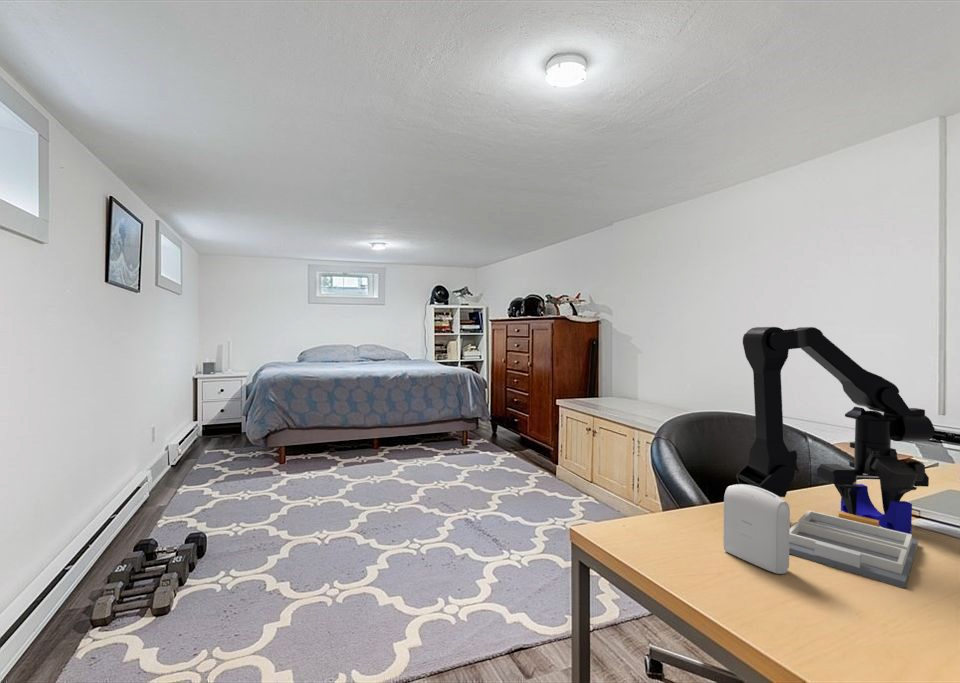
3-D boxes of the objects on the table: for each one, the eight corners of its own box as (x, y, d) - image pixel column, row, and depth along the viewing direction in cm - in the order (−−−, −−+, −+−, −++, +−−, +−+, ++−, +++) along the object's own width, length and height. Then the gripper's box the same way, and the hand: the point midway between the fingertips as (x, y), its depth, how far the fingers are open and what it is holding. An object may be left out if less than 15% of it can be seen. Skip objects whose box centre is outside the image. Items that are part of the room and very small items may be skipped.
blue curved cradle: (840, 511, 104) (841, 483, 104) (861, 511, 104) (861, 484, 104) (888, 534, 92) (889, 503, 92) (911, 534, 92) (912, 503, 92)
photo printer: (718, 550, 84) (720, 480, 84) (734, 545, 86) (736, 477, 85) (776, 577, 74) (779, 499, 74) (793, 572, 76) (795, 495, 76)
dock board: (905, 588, 72) (905, 568, 72) (776, 550, 84) (777, 533, 84) (917, 545, 87) (918, 529, 87) (807, 518, 99) (807, 503, 99)
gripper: (856, 449, 90) (854, 531, 90) (957, 451, 90) (954, 533, 90) (816, 436, 101) (814, 509, 102) (905, 438, 101) (903, 511, 101)
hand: (870, 516), depth 98 cm, fingers open, 7 cm apart
